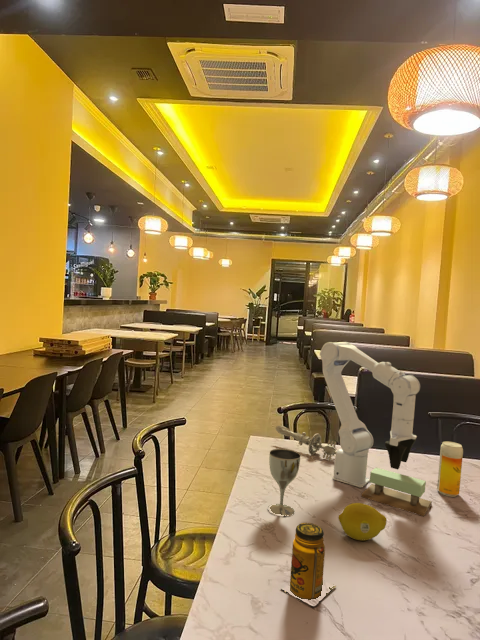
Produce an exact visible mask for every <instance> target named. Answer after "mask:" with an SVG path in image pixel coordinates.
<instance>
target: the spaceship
mask: <svg viewBox="0 0 480 640" xmlns="http://www.w3.org/2000/svg"><path fill="white" fill-rule="evenodd" d="M275 430H276V432H278V433H279V434H280V435H283V436H285V437H291V438H293V439H295V440H296V441H297V442H298V445H300V446H302V445H306V446H308V453H309V454H310V455H315V454H316V453H317V452H318V451H320V449H323V450H322V452H323V454H322V459H325V460H328V462H330V461H331V459H332V457H335V456H336V453H337V451H338V449H337V447H336V445H337V442H336V441H334V440H332V439H328V442H327V443H323V442H322V436H321V434H320V433H319V432H318V433H315V434H314V435H313V436H312V437H309V436H307V432H305V431H303V432H302V433H300V432H293V431H292V430H291V429H290V428H288V427H286V426H284V425H277V426H275ZM322 444H323V445H322Z"/></svg>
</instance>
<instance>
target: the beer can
mask: <svg viewBox="0 0 480 640" xmlns="http://www.w3.org/2000/svg"><path fill="white" fill-rule="evenodd" d="M441 443H442V444H441V445H440V451H439V464H438V473H437V474H438V475H437V487H436V489H437V491H438V492H439V493H440V495H443V496H446V497H451V498H455V497H457V496H458V495H459V494H460V491H461V490H460V488H461V478H462V467H463V459H464V458H463V455H464V449H463V446H462V444H460V443H457V442H454V441H448V440H447V441H442V442H441Z"/></svg>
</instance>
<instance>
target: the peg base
mask: <svg viewBox="0 0 480 640" xmlns="http://www.w3.org/2000/svg"><path fill="white" fill-rule="evenodd" d="M370 484H371V485H369V486H368V487H367V488H366V489H365V490H364V491H363V492H362V493H361V495H360V496H361V497H362V498H365V499H368V500H370V501H374V502H376V503H381V504H383V505H387V506H390V507H393V508H396V509H399V510H403V511H405V512H409V513H412V514H415V515H417V516H421V517H424V516H426V514H427V513H428V511H429V510H430V508H431V507H432V503H433V502H432V501H431V500H427V499H425V498H421V497H418V496H414V495H411V494H408V493H404V492H401V491H397V490H394V489H391V488H387V487H384V486H381V485H377V484H374V483H370Z"/></svg>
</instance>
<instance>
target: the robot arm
mask: <svg viewBox="0 0 480 640" xmlns="http://www.w3.org/2000/svg"><path fill="white" fill-rule="evenodd" d="M319 357H320V359H321V361H322V373H323V374H322V375H323V377H324V380H325V383H326V386H327V388H328V391H329V394H330V396H331V400H332V402H333V405H334V407H335V410H336V412H337V415H338V418H339V421H340V427H339V430H338V435H339V445H340V448H339V449H337V450H336V451H337V453H336V454H335V456H334V465H333V477H332V480H334V481H338V482H341V483H345V484H347V485H350V486H354V487H357V488H360V489H361V488H363V487H364V486H366V485H367V484H368V483H370V477H369V478H368V477H367V469H368V455H369V453H370V451H369V450H370V449H371V448H372V447H373V445H374V437H373V435H372V433H371V432H370V431H369V430H368V428H367V426H366V424H365V423H364V422H362V421H361V420H360V419H359V417H358V414H357V412H356V409H355V407H354V404H353V401H352V399H351V396H350V393H349V391H348V388H347V385H346V383H345V381H344V377H343V375H342V372H343V369H344V367H345V366H346V365H347V364H348V363H349V362H350V361H352V362H354V363H355V364H356V365H359V366H361V367H362V368H364V369H366V370H367V371H369V372H371V373H372V377H373V379H375V380H377V381H378V382H380V383H381V384H383V385H384V386H386V387H387V388H389V389H390V390H391V392H392V395H393V404H392V405H393V407H392V416H391V428H390V431H389V435H390V438H389V440H386V441H385V442H384V446H385V448H386V450H387V453H388V458H389V459H388V460H389V465H390V468H391V469H395V470H399V469H400V467H401V463H402V462H403V463H407V462H408V459H409V456H410V453H411V450H412V448H413V446H414V444H415V443H416V441H417V437H418V436H417V435H416V434H414V433H413V431H414V430H413V428H414V419H415V407H416V396H417V395H418V393H419V392H420V390H421V383H420V381H419V379H418V378H417V377H415V376H414V375H413V374H408V375H407V374H405V373H406V372H405V371H403V370H399V369H397V368H396V367H394V366H392V363H391V362H390V361H381V362H378V361H376V360H375V359H373V358H372V357H370V356H369V355H368V354H366V353H365V352H363V351H362V350H360V349H359V348H358V347H357V346H356V345H354V344H352V343H350V342H348V341H342V342H339V341H338V342H337V341H335V342H332V341H328V342H325V343H324V344H323V345H322V347H321V350H320V352H319Z"/></svg>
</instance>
